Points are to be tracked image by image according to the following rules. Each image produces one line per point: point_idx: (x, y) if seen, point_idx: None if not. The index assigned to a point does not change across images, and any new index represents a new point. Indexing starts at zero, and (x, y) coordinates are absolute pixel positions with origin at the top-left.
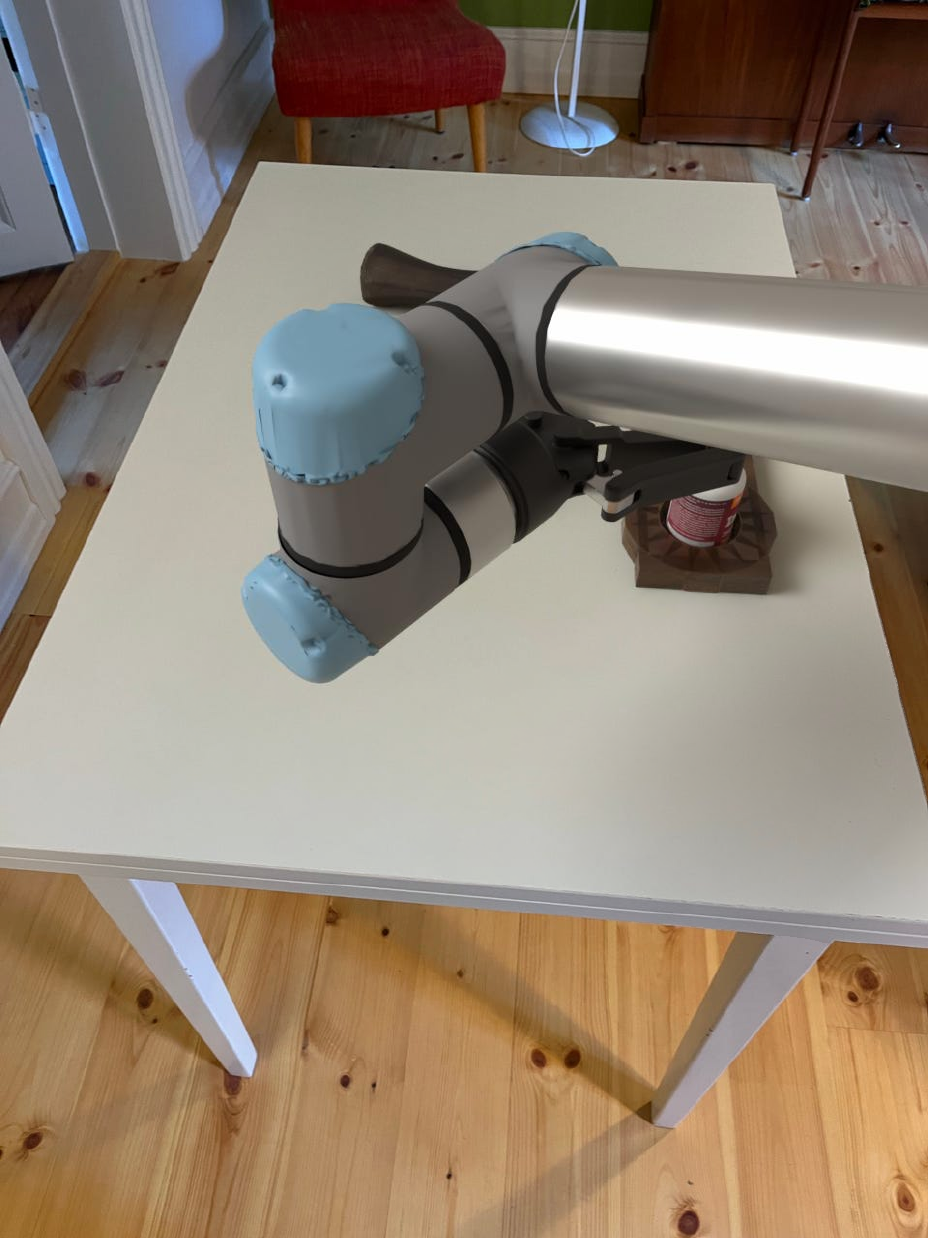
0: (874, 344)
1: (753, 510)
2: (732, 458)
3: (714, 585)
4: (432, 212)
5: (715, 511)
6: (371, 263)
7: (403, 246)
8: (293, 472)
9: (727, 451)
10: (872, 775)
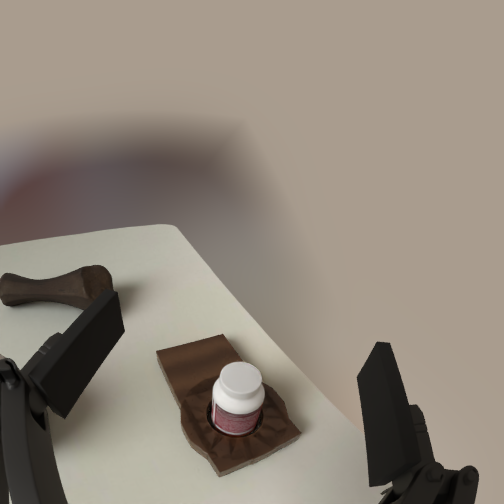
0: None
1: None
2: (475, 495)
3: (269, 454)
4: (38, 255)
5: (253, 415)
6: (1, 284)
7: (25, 272)
8: None
9: (466, 494)
10: None
